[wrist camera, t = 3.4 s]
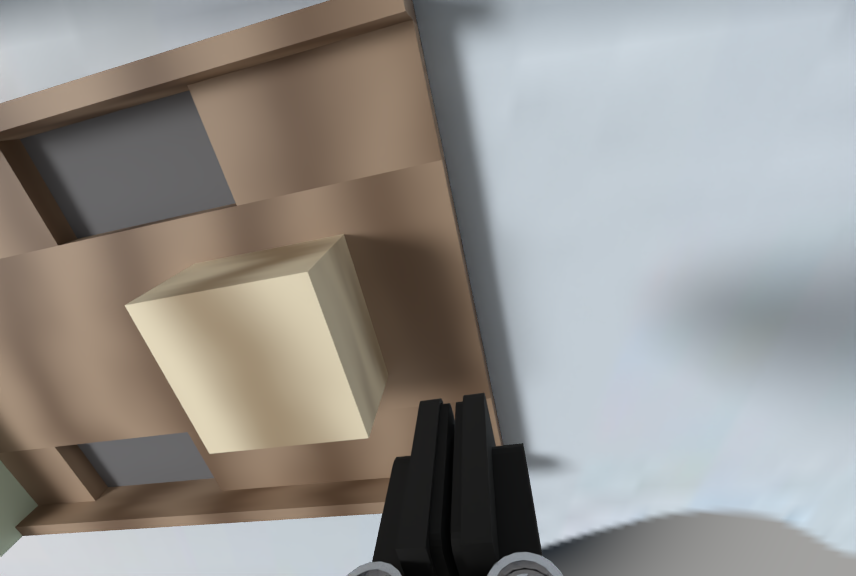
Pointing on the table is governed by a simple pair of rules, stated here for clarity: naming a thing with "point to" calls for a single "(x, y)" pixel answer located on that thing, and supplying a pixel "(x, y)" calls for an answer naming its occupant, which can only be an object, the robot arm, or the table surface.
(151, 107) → the trap pits
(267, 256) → the block
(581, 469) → the table surface
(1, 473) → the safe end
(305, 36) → the box
